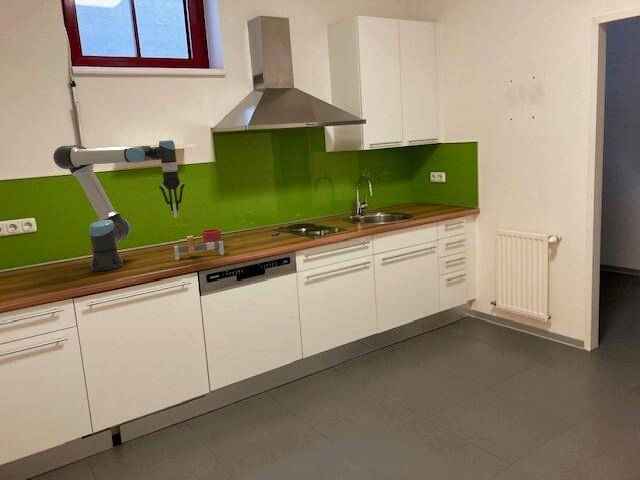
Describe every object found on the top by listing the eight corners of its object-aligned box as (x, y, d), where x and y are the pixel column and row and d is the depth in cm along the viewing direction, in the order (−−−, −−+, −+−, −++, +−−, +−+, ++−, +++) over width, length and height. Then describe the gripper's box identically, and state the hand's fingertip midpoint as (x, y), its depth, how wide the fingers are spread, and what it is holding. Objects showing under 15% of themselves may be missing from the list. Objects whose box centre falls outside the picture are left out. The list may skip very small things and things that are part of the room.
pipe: (175, 260, 276) (174, 247, 274) (175, 258, 281) (174, 245, 280) (224, 254, 281) (223, 242, 280) (223, 252, 287) (222, 240, 286)
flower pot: (211, 244, 310) (210, 228, 309) (226, 245, 305) (224, 229, 303) (199, 248, 302) (197, 231, 300) (213, 249, 296) (212, 232, 294)
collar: (189, 256, 276) (187, 238, 274) (188, 253, 283) (186, 235, 281) (195, 255, 277) (192, 237, 275) (194, 252, 284) (192, 235, 282)
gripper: (156, 172, 265) (162, 219, 269) (183, 170, 268) (188, 216, 273) (157, 171, 272) (162, 217, 277) (183, 169, 275) (188, 214, 280)
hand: (175, 217), depth 275 cm, fingers closed
